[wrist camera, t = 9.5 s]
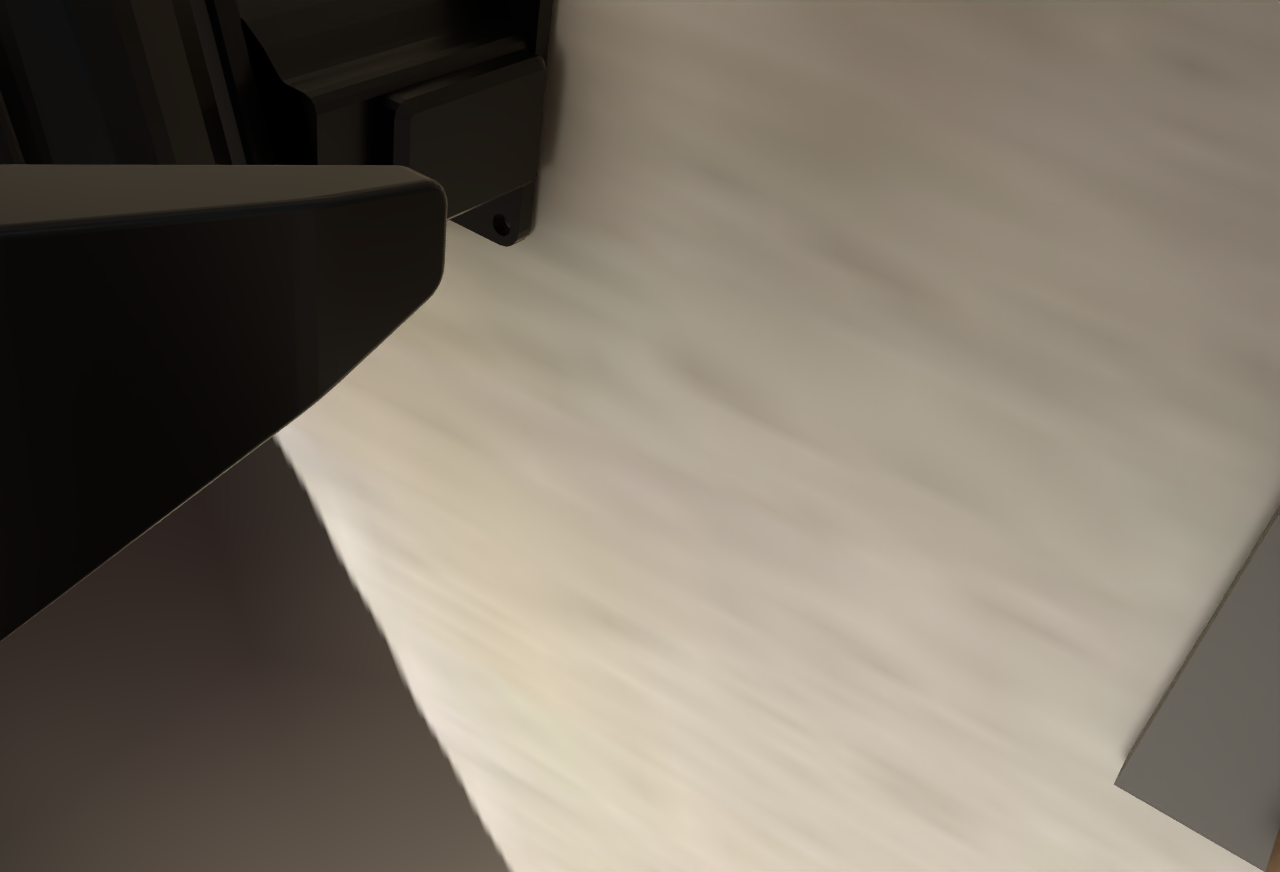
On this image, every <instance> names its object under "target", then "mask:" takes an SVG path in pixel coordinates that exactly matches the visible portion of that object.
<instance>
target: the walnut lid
mask: <svg viewBox="0 0 1280 872" xmlns="http://www.w3.org/2000/svg"><path fill="white" fill-rule="evenodd" d="M1265 872H1280V828H1279V830H1278V833H1277V836H1276V840H1275V843H1274V846H1273V849H1272V852H1271V855H1270V858H1269V862H1268V865H1267V868H1266V871H1265Z"/></svg>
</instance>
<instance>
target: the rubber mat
mask: <svg viewBox="0 0 1280 872" xmlns="http://www.w3.org/2000/svg"><path fill="white" fill-rule="evenodd" d="M1114 785H1116V786H1117V787H1119V788H1121V789H1123V790H1124V791H1126V792H1128V793H1130V794H1131V795H1133V796H1135V797H1136V798H1138V799H1140V800H1142V801H1143V802H1145V803H1147V804H1149V805H1150V806H1152V807H1154V808H1155V809H1157V810H1159V811H1161V812H1162V813H1164V814H1166V815H1168V816H1169V817H1171V818H1173V819H1174V820H1176V821H1178V822H1180V823H1181V824H1183V825H1185V826H1187V827H1188V828H1190V829H1192V830H1193V831H1195V832H1197V833H1199V834H1200V835H1202V836H1204V837H1206V838H1207V839H1209V840H1211V841H1212V842H1214V843H1216V844H1218V845H1219V846H1221V847H1223V848H1225V849H1226V850H1228V851H1230V852H1231V853H1233V854H1235V855H1237V856H1238V857H1240V858H1242V859H1244V860H1245V861H1247V862H1249V863H1250V864H1252V865H1254V866H1256V867H1257V868H1259V869H1261V870H1262V871H1264V872H1265V871H1266V868H1267V865H1268V862H1269V858H1270V855H1271V852H1272V849H1273V846H1274V843H1275V840H1276V836H1277V833H1278V830H1279V828H1280V506H1279V508H1278V510H1277V511H1276V513H1275V515H1274V516H1273V518H1272V520H1271V521H1270V523H1269V525H1268V526H1267V528H1266V529H1265V531H1264V533H1263V534H1262V536H1261V538H1260V539H1259V541H1258V543H1257V544H1256V546H1255V548H1254V549H1253V551H1252V552H1251V554H1250V556H1249V557H1248V559H1247V561H1246V562H1245V564H1244V566H1243V567H1242V569H1241V571H1240V572H1239V574H1238V576H1237V577H1236V579H1235V580H1234V582H1233V584H1232V585H1231V587H1230V589H1229V590H1228V592H1227V594H1226V595H1225V597H1224V599H1223V600H1222V602H1221V603H1220V605H1219V607H1218V608H1217V610H1216V612H1215V613H1214V615H1213V617H1212V618H1211V620H1210V622H1209V623H1208V625H1207V627H1206V628H1205V630H1204V631H1203V633H1202V635H1201V636H1200V638H1199V640H1198V641H1197V643H1196V645H1195V646H1194V648H1193V650H1192V651H1191V653H1190V654H1189V656H1188V658H1187V659H1186V661H1185V663H1184V664H1183V666H1182V668H1181V669H1180V671H1179V673H1178V674H1177V676H1176V678H1175V679H1174V681H1173V682H1172V684H1171V686H1170V687H1169V689H1168V691H1167V692H1166V694H1165V696H1164V697H1163V699H1162V701H1161V702H1160V704H1159V705H1158V707H1157V709H1156V710H1155V712H1154V714H1153V715H1152V717H1151V719H1150V720H1149V722H1148V724H1147V725H1146V727H1145V728H1144V730H1143V732H1142V733H1141V735H1140V737H1139V738H1138V740H1137V742H1136V743H1135V745H1134V747H1133V748H1132V750H1131V752H1130V753H1129V755H1128V756H1127V758H1126V760H1125V762H1124V764H1123V766H1122V768H1121V770H1120V772H1119V775H1118V777H1117V779H1116V781H1115V783H1114Z"/></svg>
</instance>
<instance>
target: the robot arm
mask: <svg viewBox="0 0 1280 872" xmlns="http://www.w3.org/2000/svg"><path fill="white" fill-rule="evenodd" d="M552 2H553V0H0V642H1V641H2V640H4V639H5V638H6V637H8V636H9V635H10V634H12V633H13V632H14V631H16V630H17V629H18V628H19V627H21V626H22V625H23V624H25V623H26V622H27V621H29V620H30V619H31V618H33V617H34V616H35V615H37V614H38V613H39V612H41V611H42V610H43V609H45V608H46V607H47V606H49V605H50V604H51V603H53V602H54V601H55V600H57V599H58V598H59V597H60V596H62V595H63V594H64V593H66V592H67V591H68V590H70V589H71V588H72V587H74V586H75V585H76V584H78V583H79V582H80V581H82V580H83V579H84V578H85V577H87V576H88V575H90V574H91V573H92V572H94V571H95V570H96V569H98V568H99V567H100V566H102V565H103V564H104V563H105V562H107V561H108V560H109V559H111V558H112V557H113V556H115V555H116V554H117V553H119V552H120V551H121V550H123V549H124V548H125V547H126V546H128V545H129V544H131V543H132V542H133V541H135V540H136V539H137V538H139V537H140V536H141V535H142V534H144V533H145V532H146V531H148V530H149V529H150V528H152V527H153V526H154V525H156V524H157V523H158V522H160V521H161V520H162V519H164V518H165V517H166V516H168V515H169V514H170V513H172V512H173V511H174V510H176V509H177V508H178V507H180V506H181V505H182V504H183V503H185V502H186V501H187V500H189V499H190V498H191V497H193V496H194V495H195V494H197V493H198V492H199V491H201V490H202V489H203V488H205V487H206V486H207V485H209V484H210V483H211V482H213V481H214V480H215V479H217V478H218V477H219V476H221V475H222V474H223V473H224V472H226V471H227V470H229V469H230V468H231V467H232V466H234V465H235V464H236V463H237V462H239V461H240V460H242V459H243V458H244V457H246V456H247V455H248V454H250V453H251V452H252V451H254V450H255V449H256V448H258V447H259V446H260V445H262V444H263V443H264V442H266V441H267V440H268V439H270V438H271V437H272V436H273V435H275V434H276V433H277V432H279V431H280V430H281V429H283V428H284V427H285V426H287V425H288V424H289V423H291V422H292V421H293V420H295V419H296V418H297V417H299V416H300V415H301V414H302V413H304V412H305V411H306V410H307V409H309V408H310V407H311V406H312V405H314V404H315V403H316V402H317V401H319V400H320V399H321V398H322V397H323V396H324V395H326V394H327V393H328V392H329V391H330V390H331V389H332V388H333V387H335V386H336V385H337V384H338V383H339V382H340V381H341V380H342V379H343V378H344V377H346V376H347V375H348V374H349V373H350V372H351V371H352V370H353V369H354V368H355V367H356V366H357V365H358V364H359V363H361V362H362V361H363V360H364V359H365V358H366V357H367V356H368V355H369V354H370V353H371V352H372V351H373V350H375V349H376V348H377V347H378V346H379V345H380V344H381V343H382V342H383V341H384V340H385V339H386V338H387V337H388V336H390V335H391V334H392V333H393V332H394V331H395V330H396V329H397V328H398V327H399V326H400V325H401V324H402V323H404V322H405V321H406V320H407V319H408V318H409V317H410V316H411V315H412V314H413V313H414V312H415V311H416V310H417V309H419V308H420V307H421V306H422V305H423V304H424V303H425V302H426V301H427V300H428V299H429V298H430V297H431V296H432V295H433V294H434V292H435V291H436V289H437V288H438V286H439V284H440V282H441V279H442V276H443V272H444V263H445V243H446V223H447V220H451V221H453V222H455V223H457V224H459V225H461V226H463V227H465V228H467V229H469V230H471V231H473V232H475V233H477V234H479V235H481V236H483V237H485V238H487V239H489V240H491V241H493V242H495V243H497V244H499V245H502V246H506V247H507V246H511V245H514V244H516V243H518V242H520V241H522V240H524V239H525V238H526V237H527V236H528V234H529V231H530V226H531V216H532V206H533V196H534V185H535V178H536V174H537V163H538V153H539V143H540V133H541V123H542V113H543V102H544V92H545V82H546V63H547V53H548V43H549V32H550V22H551V12H552ZM504 216H505V217H506V218H507V220H508V221H509V223H510V228H509V227H508V225H507V224H506V222H505V217H504Z"/></svg>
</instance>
